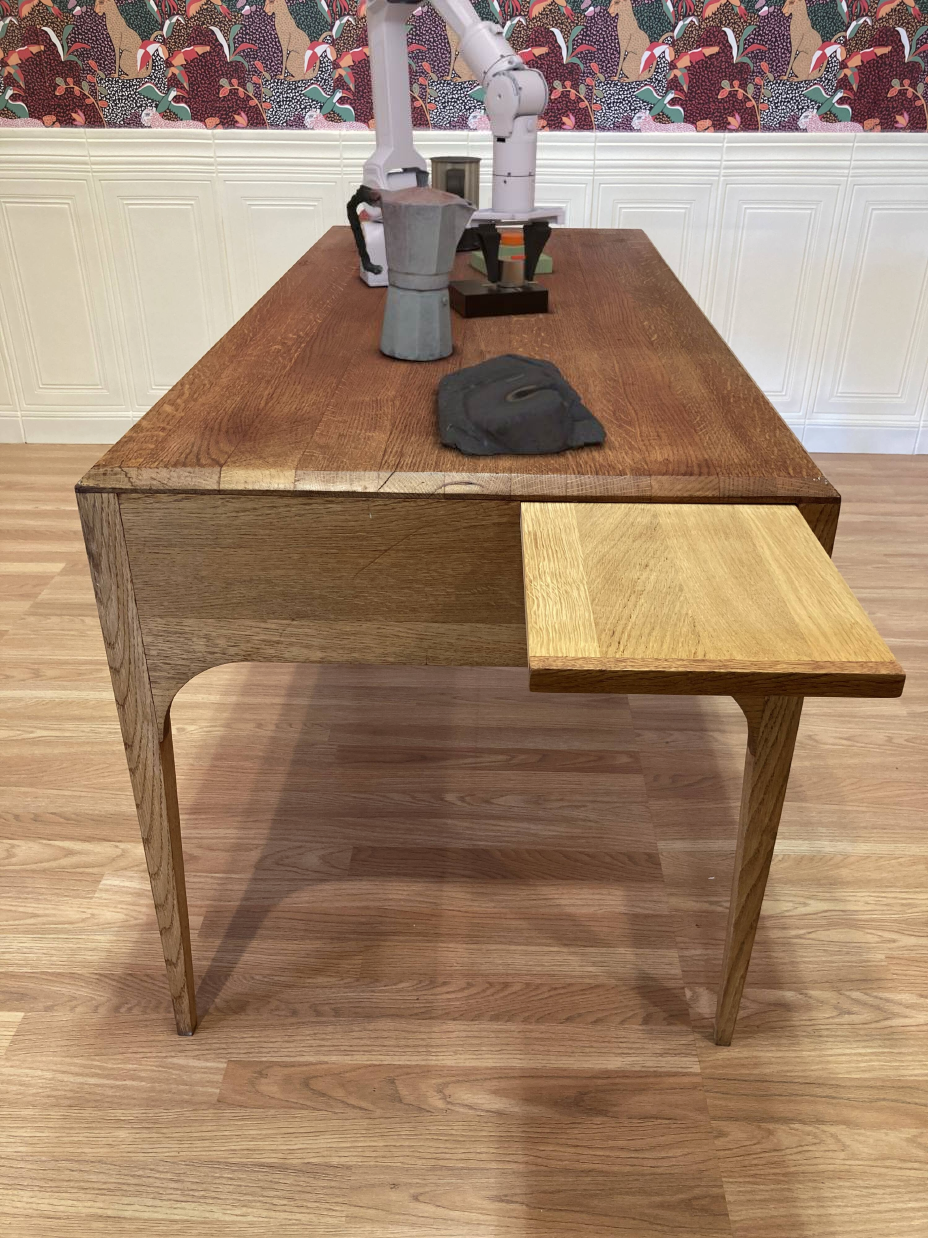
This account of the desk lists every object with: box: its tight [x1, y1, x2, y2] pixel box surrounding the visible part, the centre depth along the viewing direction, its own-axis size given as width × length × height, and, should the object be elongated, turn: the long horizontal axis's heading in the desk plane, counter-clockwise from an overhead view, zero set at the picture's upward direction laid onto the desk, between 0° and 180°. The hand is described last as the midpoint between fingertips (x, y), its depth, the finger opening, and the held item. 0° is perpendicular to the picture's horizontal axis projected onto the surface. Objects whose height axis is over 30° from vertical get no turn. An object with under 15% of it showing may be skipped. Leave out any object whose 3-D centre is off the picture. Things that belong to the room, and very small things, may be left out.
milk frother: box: [429, 155, 524, 251], centre depth 171 cm, size 14×16×15 cm
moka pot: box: [345, 170, 478, 362], centre depth 110 cm, size 10×15×20 cm, turn 78°
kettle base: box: [471, 240, 554, 277], centre depth 158 cm, size 11×9×4 cm
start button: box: [500, 232, 524, 246], centre depth 157 cm, size 4×4×2 cm
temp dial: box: [496, 255, 526, 287], centre depth 133 cm, size 4×4×4 cm
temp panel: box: [447, 278, 550, 319], centre depth 135 cm, size 12×9×3 cm
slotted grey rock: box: [437, 353, 607, 456], centre depth 95 cm, size 15×22×5 cm
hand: (510, 280), depth 134 cm, fingers open, 5 cm apart
